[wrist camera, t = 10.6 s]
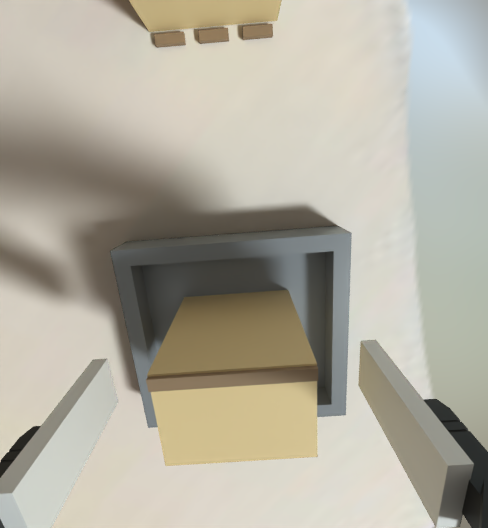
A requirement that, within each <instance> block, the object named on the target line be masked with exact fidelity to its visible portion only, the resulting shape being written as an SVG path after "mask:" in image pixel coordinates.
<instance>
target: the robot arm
mask: <svg viewBox="0 0 488 528" xmlns="http://www.w3.org/2000/svg"><path fill="white" fill-rule="evenodd" d="M358 385H359V387H360V389H361V391H362V393H363V394H364V396H365V398H366V400H367V402H368V404H369V405H370V407H371V409H372V411H373V413H374V415H375V416H376V418H377V420H378V422H379V424H380V426H381V427H382V429H383V431H384V433H385V435H386V437H387V439H388V440H389V442H390V444H391V446H392V448H393V450H394V451H395V453H396V455H397V457H398V459H399V461H400V462H401V464H402V466H403V468H404V470H405V472H406V473H407V475H408V477H409V479H410V481H411V483H412V484H413V486H414V488H415V490H416V492H417V494H418V496H419V497H420V499H421V501H422V503H423V505H424V507H425V508H426V510H427V512H428V514H429V516H430V518H431V519H432V521H433V523H434V525H435V527H436V528H447V527H460V524H461V520H462V515H464V516H465V518H466V520H467V521H468V523H469V524H470V526H471V527H472V528H488V452H487V450H486V449H485V448H484V447H483V446H482V445H481V444H480V443H479V442H478V440H477V439H476V438H475V437H474V436H473V434H472V433H471V432H469V431H468V429H467V428H466V426H465V425H464V424H463V423H462V422H460V420H459V418H458V417H457V416H456V415H455V414H454V413H453V412H452V411H451V409H450V408H449V407H447V406H446V405H444V404H443V403H441V402H440V401H438V400H437V399H427V400H423V399H422V398H421V396H420V395H419V394H418V393H417V391H416V390H415V389H414V387H413V386H412V385H411V384H410V382H409V381H408V380H407V379H406V377H405V376H404V375H403V374H402V372H401V371H400V370H399V369H398V367H397V366H396V365H395V363H394V362H393V361H392V360H391V358H390V357H389V356H388V355H387V353H386V352H385V351H384V350H383V348H382V347H381V346H380V345H379V343H378V342H377V341H376V340H367V341H361V347H360V366H359V384H358ZM117 403H118V397H117V393H116V390H115V386H114V382H113V378H112V374H111V370H110V366H109V362H108V359H95V360H92V362H91V363H90V364H89V365H88V367H87V368H86V369H85V371H84V372H83V373H82V374H81V376H80V377H79V378H78V379H77V381H76V382H75V383H74V385H73V386H72V387H71V388H70V390H69V391H68V392H67V394H66V395H65V396H64V397H63V399H62V400H61V401H60V402H59V404H58V405H57V406H56V408H55V409H54V410H53V411H52V413H51V414H50V415H49V417H48V418H47V419H46V420H45V422H44V423H43V424H42V425H41V426H34V427H32V428H31V429H30V430H29V431H27V432H26V433H25V434H24V435H22V436H21V437H20V438H19V439H18V440H17V441H16V443H15V444H14V445H13V446H12V447H11V449H10V450H9V452H7V454H6V455H5V456H4V457H3V458H2V460H1V462H0V528H52V526H53V524H54V522H55V520H56V518H57V516H58V514H59V512H60V511H61V509H62V507H63V505H64V503H65V501H66V499H67V497H68V496H69V494H70V492H71V490H72V488H73V486H74V484H75V482H76V480H77V479H78V477H79V475H80V473H81V471H82V469H83V467H84V465H85V464H86V462H87V460H88V458H89V456H90V454H91V452H92V450H93V448H94V447H95V445H96V443H97V441H98V439H99V437H100V435H101V433H102V432H103V430H104V428H105V426H106V424H107V422H108V420H109V418H110V416H111V415H112V413H113V411H114V409H115V407H116V405H117Z"/></svg>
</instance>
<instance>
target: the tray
mask: <svg viewBox="0 0 488 528" xmlns="http://www.w3.org/2000/svg"><path fill="white" fill-rule="evenodd" d="M351 234H352V233H351V232H349V231H347V230H345V229H343V228H341V227H339V226H328V227H315V228H302V229H288V230H275V231H262V232H249V233H235V234H222V235H209V236H195V237H182V238H169V239H156V240H142V241H129V242H125V243H123V244H122V245H120V246H118V247H116V248H115V249H113V250H111V251H110V253H111V257H112V262H113V267H114V271H115V276H116V281H117V285H118V290H119V294H120V299H121V304H122V308H123V313H124V318H125V322H126V327H127V332H128V336H129V341H130V345H131V350H132V355H133V359H134V364H135V369H136V373H137V378H138V383H139V387H140V392H141V396H142V401H143V406H144V410H145V415H146V420H147V424H148V428H151V427H158V426H157V421H156V416H155V411H154V406H153V401H152V396H151V392H148V387H147V383H146V379H147V374H148V372H149V370H150V368H151V366H152V363H153V361H154V359H155V357H156V355H157V353H158V351H159V349H160V347H161V345H162V343H163V341H164V338H165V336H166V334H167V332H168V330H169V328H170V326H171V324H172V322H173V320H174V318H175V316H176V313H177V311H178V309H179V307H180V305H181V303H182V301H183V299H184V297H194V296H208V295H222V294H236V293H250V292H264V291H278V290H288V291H289V293H290V296H291V299H292V301H293V304H294V306H295V309H296V311H297V314H298V316H299V319H300V321H301V324H302V326H303V329H304V332H305V334H306V337H307V339H308V342H309V344H310V347H311V349H312V352H313V354H314V357H315V360H316V362H317V367H318V381H317V417H325V416H341V415H346V390H347V358H348V327H349V296H350V265H351Z"/></svg>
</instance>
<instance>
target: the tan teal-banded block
mask: <svg viewBox="0 0 488 528" xmlns="http://www.w3.org/2000/svg"><path fill="white" fill-rule="evenodd" d="M129 1H130V3H131V5H132V6H133V8H134V9H135V11H136V12H137V14H138V15H139V17H140V18H141V20H142V21H143V23H144V24H145V26H146V27H147V29H148V31H149V32H154V31H166V30H177V29H188V28H200V27H211V26H222V25H233V24H245V23H256V22H267V21H277V19H278V14H279V10H280V5H281V1H282V0H129ZM198 34H199V42H200V44H202V43H214V42H225V41H229V36H228V28H220V29H209V30H198ZM272 36H273V27H272V24H265V25H254V26H243V40H248V39H260V38H271V37H272ZM154 38H155V45H156V47H168V46H180V45H186V43H185V34H184V32H175V33H163V34H154Z"/></svg>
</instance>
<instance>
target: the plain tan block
mask: <svg viewBox="0 0 488 528" xmlns="http://www.w3.org/2000/svg"><path fill="white" fill-rule="evenodd" d="M317 381H318V367H317V362H316V360H315V357H314V354H313V352H312V349H311V347H310V344H309V342H308V339H307V337H306V334H305V332H304V329H303V326H302V324H301V321H300V319H299V316H298V314H297V311H296V309H295V306H294V304H293V301H292V299H291V296H290V293H289V291H288V290H278V291H264V292H250V293H236V294H222V295H208V296H194V297H184V299H183V301H182V303H181V305H180V307H179V309H178V311H177V313H176V316H175V318H174V320H173V322H172V324H171V326H170V328H169V330H168V332H167V334H166V336H165V338H164V341H163V343H162V345H161V347H160V349H159V351H158V353H157V355H156V357H155V359H154V361H153V363H152V366H151V368H150V370H149V372H148V374H147V379H146V383H147V387H148V392H151V396H152V401H153V406H154V411H155V416H156V421H157V426H158V431H159V436H160V441H161V445H162V450H163V455H164V460H165V465H166V466H173V465H189V464H206V463H222V462H239V461H255V460H271V459H288V458H304V457H317Z"/></svg>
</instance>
